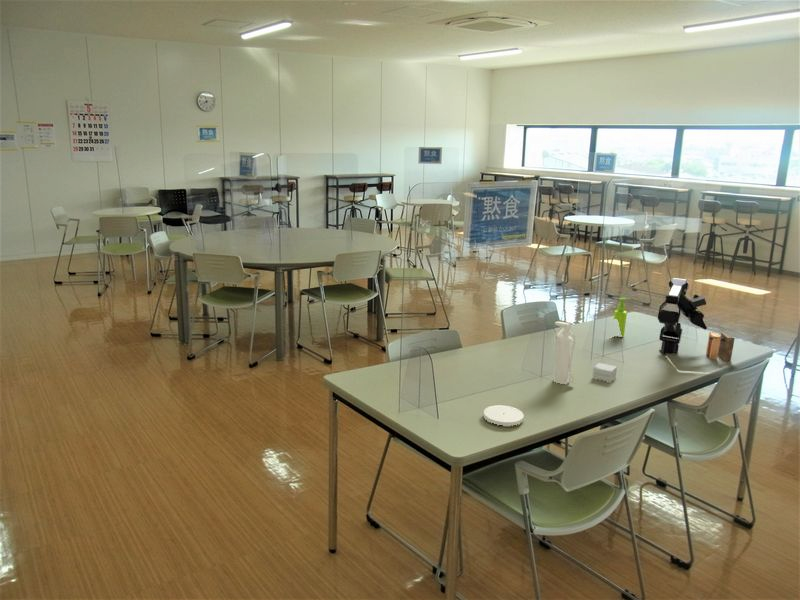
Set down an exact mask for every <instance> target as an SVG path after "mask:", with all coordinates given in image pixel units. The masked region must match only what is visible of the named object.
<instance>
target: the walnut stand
mask: <svg viewBox="0 0 800 600" xmlns="http://www.w3.org/2000/svg"><path fill="white" fill-rule="evenodd" d="M720 337H721V339H720V345H719V351H718V357H719V358H720V359H721V360H722V361H723V362H731V361H732V356H733V350H734V346H735V345H734V344H735V339H736V338H735V337H734V336H733V335H731V334H730V333H729V332H720ZM708 338H709V340H712V339H713V338H712V337H709V336H708Z"/></svg>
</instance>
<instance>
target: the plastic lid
mask: <svg viewBox="0 0 800 600" xmlns="http://www.w3.org/2000/svg"><path fill="white" fill-rule="evenodd" d="M483 418H484V420H485V421H486V420H487V421H486V422H488V423H490V422H491V423H490V424H492V423H494V424H497V425H496V426H499V425H503V426H502V427H514V426H513V425H516V426H518V425H521V424H522V423H523V422H524V420H523V419H525V415H524V412H523V411H521V410H520V409H518V408H515V407H513V406H511V405H510V406H509V405H498V404H497V405H490V406H487V407H486V408H484V410H483ZM521 422H522V423H521ZM520 423H521V424H520ZM494 424H493V425H494ZM517 424H518V425H517ZM511 425H512V426H511Z"/></svg>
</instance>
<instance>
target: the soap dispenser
mask: <svg viewBox="0 0 800 600" xmlns="http://www.w3.org/2000/svg"><path fill="white" fill-rule="evenodd" d="M618 300H619V303H618V304H617V309H615V310H614V311H613V312H614V314H613V320H614V319H617V320H618V322H619V327H620V331H621V335H622V337H623V336H624V337H625V331H626V323H627V322H626V321H627V315H628V314H627V313H628V311H626V310H625V309H626V304H625V301H631V299H630V298H628V297H618ZM624 337H623V338H624Z"/></svg>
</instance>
